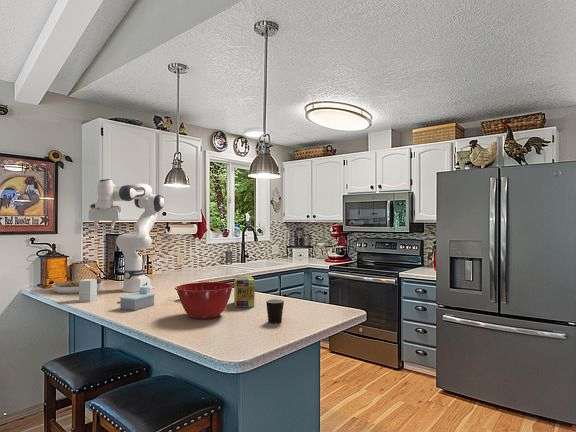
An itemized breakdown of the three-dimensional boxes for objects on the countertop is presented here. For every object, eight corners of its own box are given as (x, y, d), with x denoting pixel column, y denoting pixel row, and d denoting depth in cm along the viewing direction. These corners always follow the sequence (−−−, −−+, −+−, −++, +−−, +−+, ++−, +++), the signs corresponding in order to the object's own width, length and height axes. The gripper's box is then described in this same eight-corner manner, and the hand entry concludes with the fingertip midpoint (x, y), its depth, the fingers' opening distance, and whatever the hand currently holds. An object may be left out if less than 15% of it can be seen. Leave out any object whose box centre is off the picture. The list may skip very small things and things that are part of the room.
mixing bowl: (172, 312, 208) (172, 283, 208) (225, 307, 219) (225, 280, 220) (180, 325, 182) (180, 292, 182) (239, 319, 193) (239, 288, 194)
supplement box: (97, 299, 239) (97, 278, 239) (90, 302, 231) (90, 280, 231) (85, 299, 239) (86, 278, 240) (78, 301, 232) (78, 280, 232)
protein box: (236, 308, 219) (236, 280, 219) (234, 302, 234) (234, 276, 234) (254, 307, 221) (254, 279, 221) (251, 301, 236) (251, 275, 236)
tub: (140, 303, 227) (140, 293, 227) (154, 305, 224) (154, 294, 224) (120, 309, 213) (120, 298, 214) (134, 311, 210) (134, 299, 210)
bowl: (49, 296, 249) (49, 284, 249) (55, 288, 276) (55, 277, 277) (101, 293, 261) (101, 281, 261) (102, 285, 289) (102, 275, 289)
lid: (140, 293, 228) (140, 286, 228) (154, 294, 224) (154, 287, 224) (119, 298, 213) (119, 290, 213) (134, 300, 209) (134, 292, 209)
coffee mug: (277, 325, 184) (277, 303, 184) (262, 322, 189) (262, 301, 189) (290, 319, 194) (290, 299, 194) (275, 317, 198) (276, 297, 199)
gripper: (123, 205, 240) (123, 228, 240) (93, 205, 243) (93, 227, 243) (117, 205, 234) (117, 228, 234) (86, 205, 237) (86, 228, 237)
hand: (104, 228), depth 238 cm, fingers open, 8 cm apart
